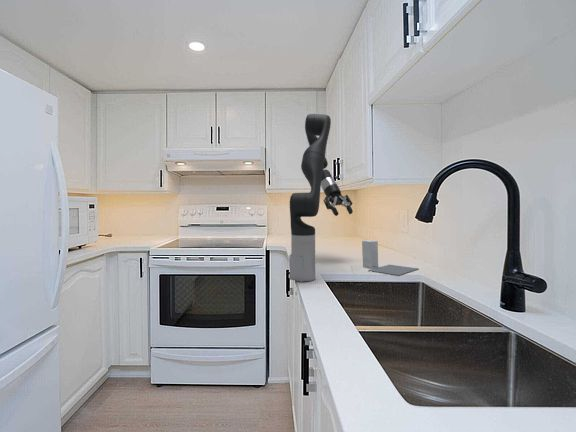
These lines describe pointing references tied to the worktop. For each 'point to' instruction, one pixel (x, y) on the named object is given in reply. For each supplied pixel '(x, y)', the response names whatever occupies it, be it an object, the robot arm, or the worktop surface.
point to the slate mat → (393, 270)
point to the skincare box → (370, 253)
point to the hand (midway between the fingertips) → (344, 214)
